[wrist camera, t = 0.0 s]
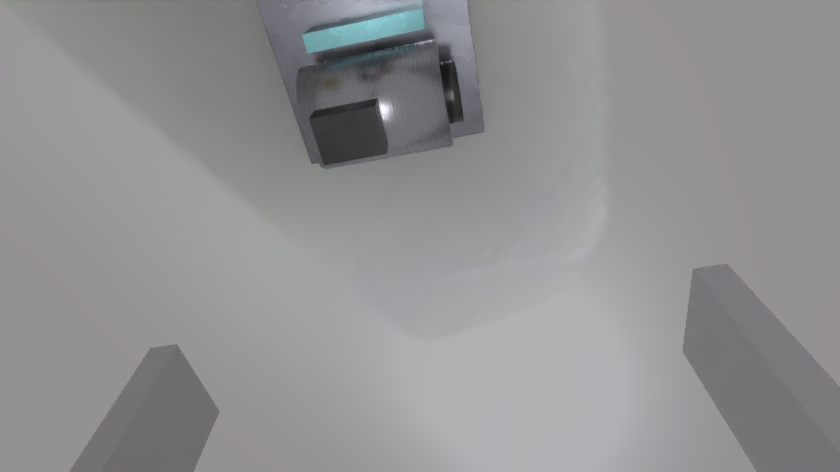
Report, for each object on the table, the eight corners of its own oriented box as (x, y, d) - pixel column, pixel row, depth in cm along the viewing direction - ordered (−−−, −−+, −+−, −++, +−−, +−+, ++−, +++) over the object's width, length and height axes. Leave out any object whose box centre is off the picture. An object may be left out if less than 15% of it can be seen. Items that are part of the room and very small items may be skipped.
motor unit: (226, -102, 31) (155, -114, 22) (445, -157, 29) (453, -191, 21) (314, 158, 40) (286, 216, 32) (482, 127, 38) (498, 179, 30)
